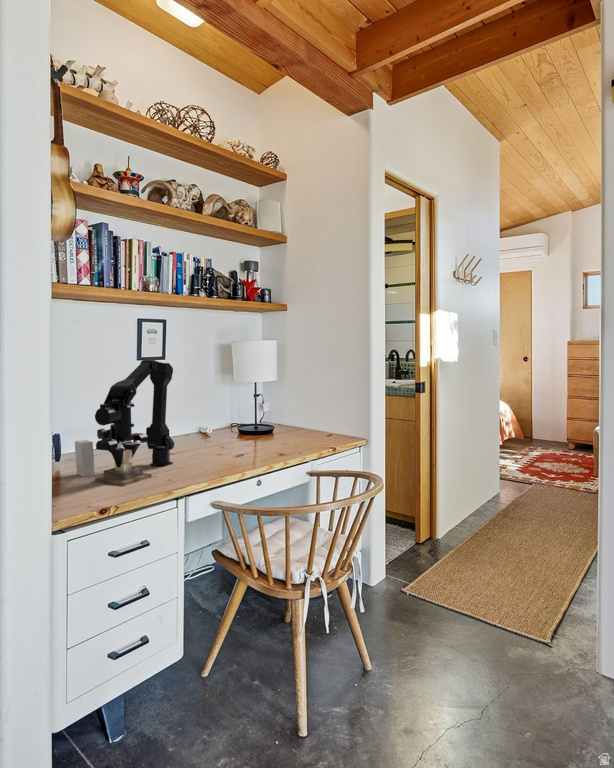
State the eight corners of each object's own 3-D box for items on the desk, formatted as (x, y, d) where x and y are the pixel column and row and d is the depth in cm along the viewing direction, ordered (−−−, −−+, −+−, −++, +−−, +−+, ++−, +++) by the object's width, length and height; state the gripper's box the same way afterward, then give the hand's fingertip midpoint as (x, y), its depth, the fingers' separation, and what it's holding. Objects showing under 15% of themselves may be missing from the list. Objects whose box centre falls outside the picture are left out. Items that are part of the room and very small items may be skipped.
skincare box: (95, 475, 176) (94, 441, 175) (82, 477, 173) (81, 443, 172) (87, 472, 180) (86, 439, 180) (75, 474, 177) (74, 441, 176)
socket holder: (123, 473, 179) (122, 463, 179) (151, 476, 174) (151, 466, 174) (94, 481, 167) (94, 471, 167) (124, 485, 162) (124, 475, 162)
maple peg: (123, 471, 173) (123, 448, 173) (132, 472, 172) (131, 449, 171) (114, 474, 170) (114, 451, 169) (123, 475, 168) (123, 452, 167)
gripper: (124, 416, 181) (125, 458, 182) (83, 423, 164) (84, 469, 165) (148, 418, 177) (149, 461, 178) (108, 425, 160) (109, 473, 161)
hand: (123, 466), depth 171 cm, fingers closed on maple peg, 4 cm apart
